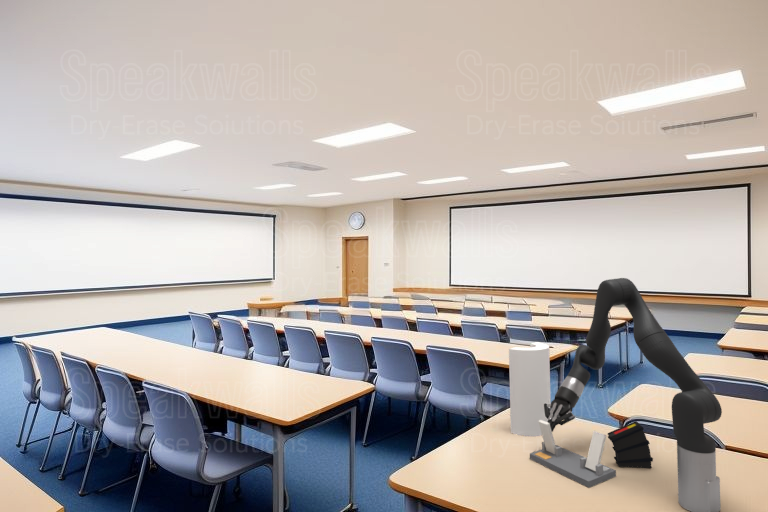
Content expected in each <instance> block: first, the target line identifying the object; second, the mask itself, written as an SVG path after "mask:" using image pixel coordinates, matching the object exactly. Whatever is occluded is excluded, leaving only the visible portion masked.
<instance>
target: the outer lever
mask: <svg viewBox="0 0 768 512" xmlns="http://www.w3.org/2000/svg"><path fill="white" fill-rule="evenodd" d="M538 422H539V426H540V429H541V433H542V435H541V436H542V439H543V442H544V444H545V448H546V451H549V452H551V453H553V454H555V448H556V445H557V444H556V442H555V439H554V434H553V431H551V427H550V423H548V422H545V421H543V420H539V421H538Z"/></svg>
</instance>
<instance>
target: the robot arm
mask: <svg viewBox="0 0 768 512" xmlns="http://www.w3.org/2000/svg"><path fill="white" fill-rule="evenodd" d="M621 305H622V306H623V305H624V306H625V308H626V309H627V310H628V312H629V313H630V316H631V317H632V322H633V338H634V342H635V344H636V346H637V347H638V349H639V350H640V352H641V354H642V355H643V356H644V358H645V359H646V360H647V361H648V362H649V363H650V364H652V366H654V367H655V368H656V369H658V370H659V371H660V372H662V373H664V374H665V375H666V376H667V377H668V378H670V379H671V380H672V381H673V382H674V383H675V384H676V386H677V387H678V388H679V389H680V392H677V393H676V394H674V396H673V397H672V401H671V417H672V428H673V432H674V436H675V438H676V456H677V457H676V459H677V460H676V461H677V463H676V464H677V498H678V499H677V501H678V504H679V505H680V506H681V507H682V508H683V509H684V510H687V511H689V512H721V479H720V477H719V476H718V475H717V462H716V461H717V454H716V452H717V451H716V449H717V447H716V441H715V439H714V438H712V437H711V436H710V435H708V434H705V425H704V424H709V423H715V422H717V421H719V420H720V419H721V417H722V413H723V411H722V405H721V404H720V402H719V400H718V398H717V396H715V394H714V392H712V390H711V389H710V388H709V387H708V386H707V385H706V384H705V382H704V381H703V380H702V378H700V377H699V376H698V374H697V373H696V372H695V371H694V370H693V368H692V367H691V366H690V365H689V363H688V362H687V360H686V359H685V358H684V356H683V355H682V354H681V352H680V350H678V348H677V347H676V345H675V344H674V343H673V341H672V339H671V338H670V337H669V335H668V334H667V333H666V331H665V329H663V327H662V326H661V325H660V323H659V322H658V320H657V319H656V317H655V316H654V314H653V313H652V312H651V310H650V308H649V307H648V305H647V304H646V302H645V300H644V298H643V296H642V294H641V293H640V291H639V289H638V288H637V286H636V284H634V282H633V281H632V280H630V279H629V278H626V277H620V278H611V279H606V280H603V281H602V282H601V283H600V284H599V285H598V288H597V291H596V297H595V303H594V308H593V309H594V310H593V315H592V316H593V318H592V322H591V323H590V327H589V331H588V332H587V335H586V337H585V344H582V345H579V346H578V347H577V348H576V350H575V353H574V354H575V355H574V359H573V363H572V366H571V368H570V370H569V372H568V374H567V376H565V378H564V379H563V381H562V383H561V385H560V386H559V388H558V390H557V391H556V393H555V394H554V398H553V400H552V401H551V404H546V403H545V404H544V411H545V417H546V418H547V419H548V421H547V422H548V423H550V427H551V431H552V432H554V430H555V429H556V427H557V426H558V425H560V426H563V425H565V424H568V422H571V421H573V420H575V418H576V417H575V415H574V414H573V409H575V407H576V405H577V403H578V401H579V400H580V397H581V396H582V394H583V392H584V389H585V387H586V386H587V383H588V382H589V381H590V379H591V373H590V372H589V370H588V369H587V368H585V367H584V366H586V367H588V368H590V369H592V370H596V371H597V370H600V369H602V368H603V366H605V361H606V348H607V347H606V345H607V344H608V341H609V338H610V336H611V333H612V332H611V331H612V327H611V323H610V320H609V314H610V311H611V309H612V308H613V307H615V306H621ZM582 365H584V366H582Z"/></svg>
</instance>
